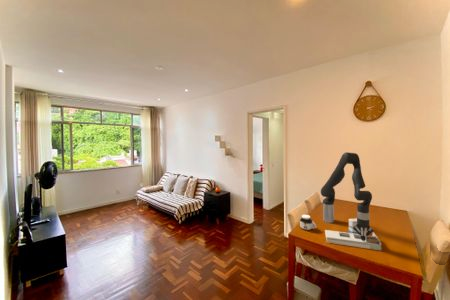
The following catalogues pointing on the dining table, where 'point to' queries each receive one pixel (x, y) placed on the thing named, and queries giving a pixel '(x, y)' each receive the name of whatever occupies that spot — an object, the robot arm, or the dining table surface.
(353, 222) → the ink box
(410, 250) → the dining table surface
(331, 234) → the two-hole white board
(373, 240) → the walnut block
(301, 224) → the spread jar
